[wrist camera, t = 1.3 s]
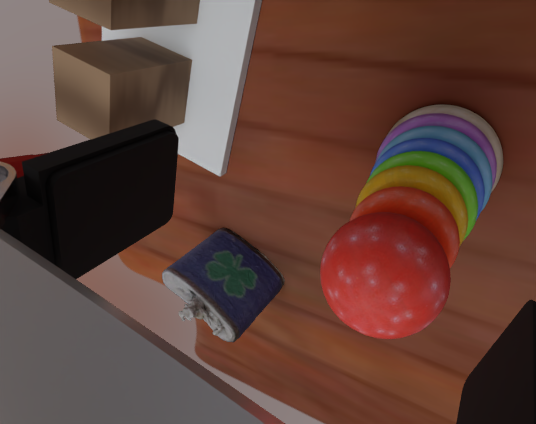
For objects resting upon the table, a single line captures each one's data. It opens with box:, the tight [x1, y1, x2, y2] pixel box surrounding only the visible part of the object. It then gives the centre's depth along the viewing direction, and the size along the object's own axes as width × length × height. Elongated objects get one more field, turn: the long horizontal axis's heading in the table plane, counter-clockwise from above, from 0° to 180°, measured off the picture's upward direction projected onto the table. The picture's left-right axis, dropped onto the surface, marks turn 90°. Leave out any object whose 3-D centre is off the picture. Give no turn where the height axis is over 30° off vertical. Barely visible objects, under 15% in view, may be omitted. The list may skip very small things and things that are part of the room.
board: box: [102, 0, 262, 176], centre depth 36 cm, size 22×16×1 cm
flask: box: [162, 228, 285, 342], centre depth 39 cm, size 9×3×11 cm, turn 60°
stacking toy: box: [320, 105, 503, 339], centre depth 22 cm, size 8×8×19 cm
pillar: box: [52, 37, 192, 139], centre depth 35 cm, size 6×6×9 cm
